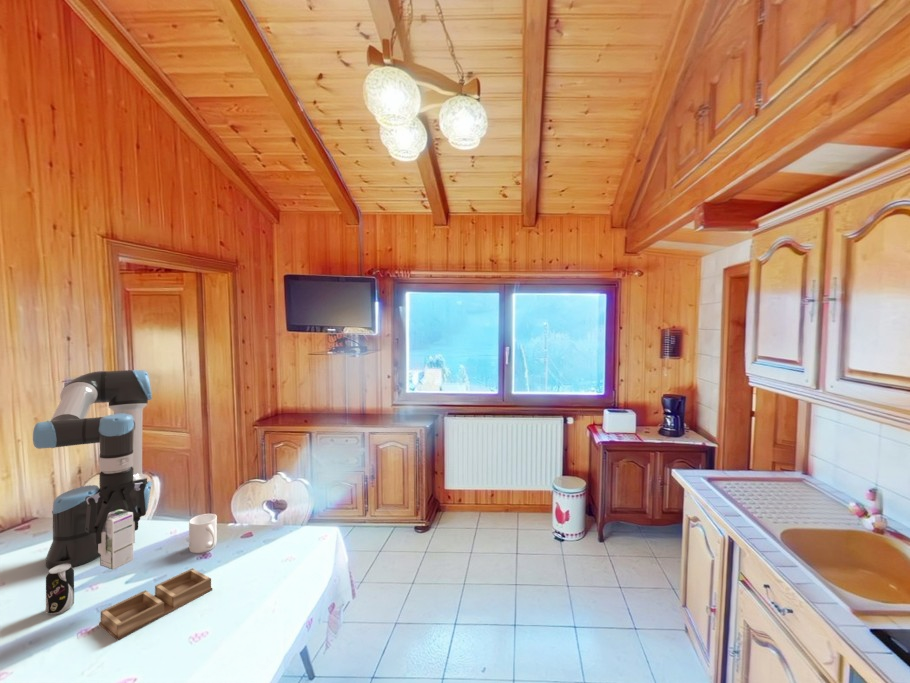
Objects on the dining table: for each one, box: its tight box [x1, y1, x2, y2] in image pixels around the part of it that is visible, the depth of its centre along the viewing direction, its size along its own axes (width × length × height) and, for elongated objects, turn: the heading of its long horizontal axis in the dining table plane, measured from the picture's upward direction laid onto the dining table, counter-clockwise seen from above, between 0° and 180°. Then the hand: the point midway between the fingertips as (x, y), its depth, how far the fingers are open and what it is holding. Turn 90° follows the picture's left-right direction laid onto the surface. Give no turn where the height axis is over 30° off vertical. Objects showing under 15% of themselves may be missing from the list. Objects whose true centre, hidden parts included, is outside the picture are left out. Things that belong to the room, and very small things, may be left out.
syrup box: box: [99, 509, 134, 570], centre depth 118 cm, size 6×6×14 cm
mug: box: [188, 513, 218, 554], centre depth 148 cm, size 9×12×11 cm
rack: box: [98, 568, 213, 641], centre depth 118 cm, size 11×24×4 cm, turn 150°
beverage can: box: [45, 564, 75, 615], centre depth 115 cm, size 6×6×12 cm
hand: (116, 547), depth 118 cm, fingers closed on syrup box, 6 cm apart
